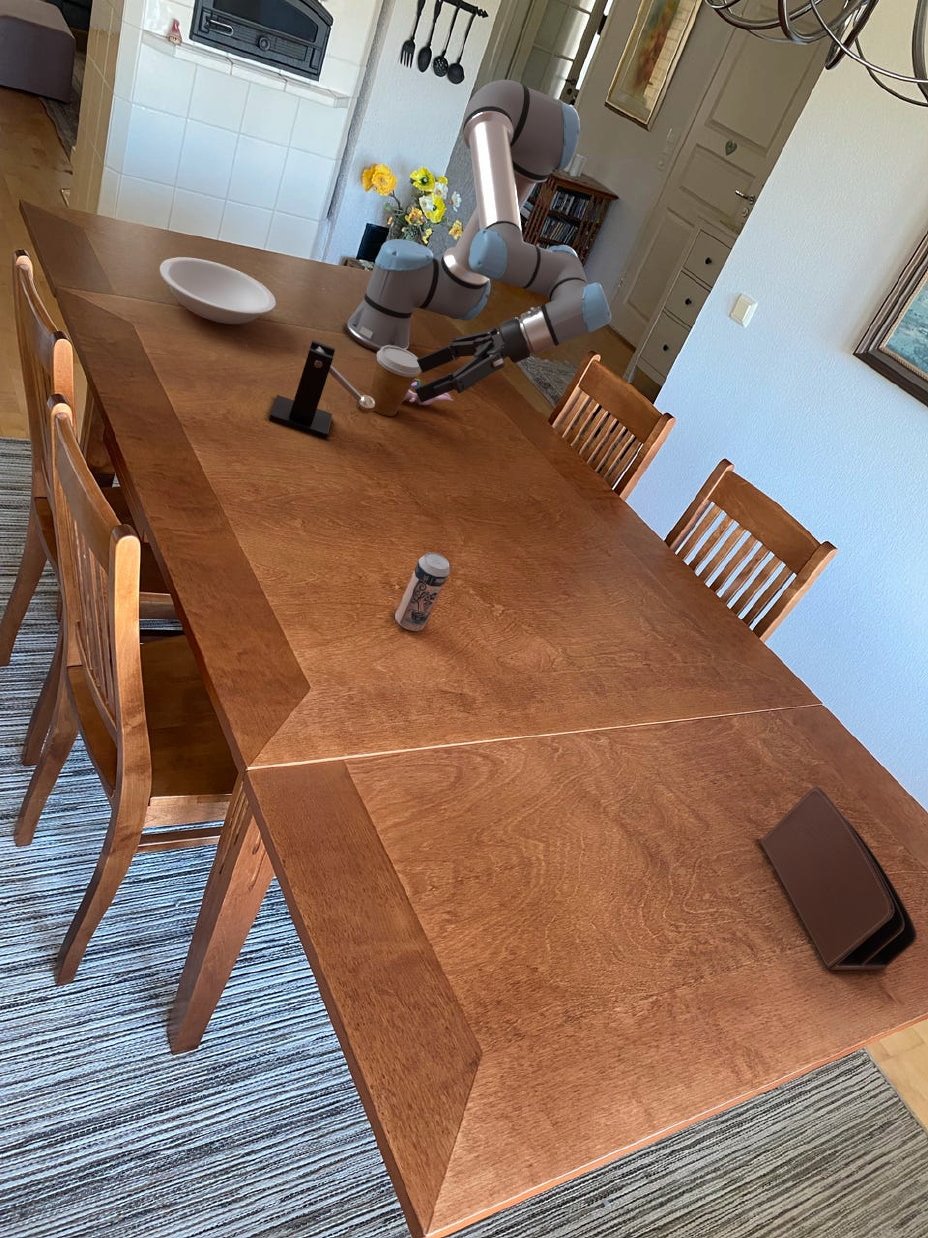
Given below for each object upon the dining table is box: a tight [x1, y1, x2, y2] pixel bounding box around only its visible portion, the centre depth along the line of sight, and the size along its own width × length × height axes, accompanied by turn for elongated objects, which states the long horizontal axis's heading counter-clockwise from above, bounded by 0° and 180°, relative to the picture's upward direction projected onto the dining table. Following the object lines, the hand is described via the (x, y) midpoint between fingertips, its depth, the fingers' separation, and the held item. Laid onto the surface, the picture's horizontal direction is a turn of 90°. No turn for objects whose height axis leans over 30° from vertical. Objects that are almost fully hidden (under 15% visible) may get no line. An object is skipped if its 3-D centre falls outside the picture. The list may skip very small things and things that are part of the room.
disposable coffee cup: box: [369, 345, 422, 417], centre depth 190 cm, size 10×10×12 cm
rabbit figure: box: [403, 378, 454, 406], centre depth 200 cm, size 6×6×15 cm
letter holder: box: [760, 786, 918, 971], centre depth 123 cm, size 10×20×14 cm, turn 14°
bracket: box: [268, 339, 336, 440], centre depth 172 cm, size 11×9×15 cm
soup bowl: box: [159, 256, 277, 325], centre depth 195 cm, size 24×24×7 cm
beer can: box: [394, 552, 451, 632], centre depth 137 cm, size 5×5×12 cm
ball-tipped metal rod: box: [316, 346, 375, 415], centre depth 172 cm, size 15×4×4 cm, turn 92°
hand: (418, 380), depth 172 cm, fingers open, 13 cm apart
